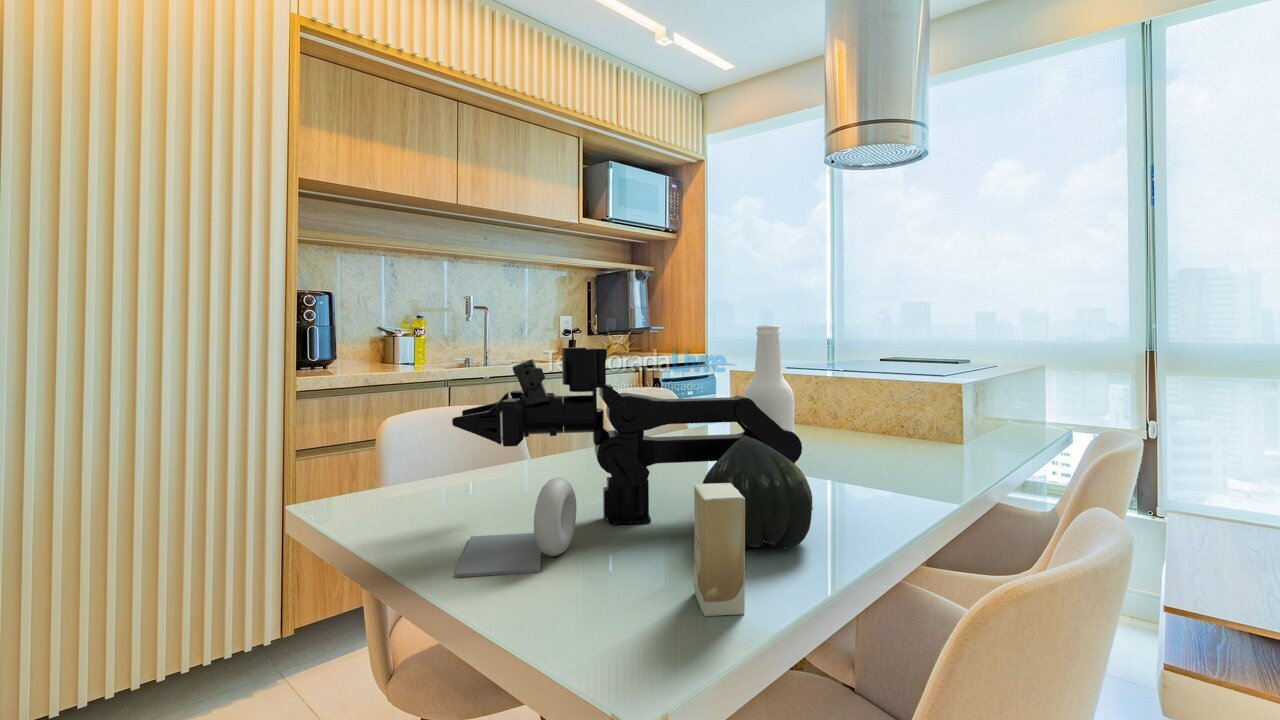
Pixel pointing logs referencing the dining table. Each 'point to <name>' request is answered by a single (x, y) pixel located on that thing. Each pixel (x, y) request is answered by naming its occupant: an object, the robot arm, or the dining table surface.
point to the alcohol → (771, 380)
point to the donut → (555, 516)
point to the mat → (500, 555)
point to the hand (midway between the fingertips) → (457, 417)
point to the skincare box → (719, 549)
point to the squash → (766, 493)
